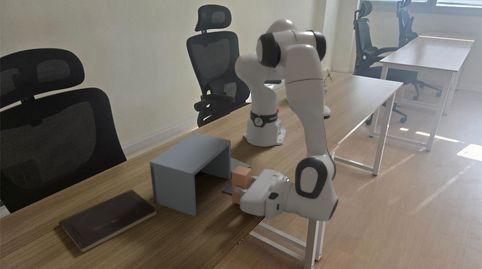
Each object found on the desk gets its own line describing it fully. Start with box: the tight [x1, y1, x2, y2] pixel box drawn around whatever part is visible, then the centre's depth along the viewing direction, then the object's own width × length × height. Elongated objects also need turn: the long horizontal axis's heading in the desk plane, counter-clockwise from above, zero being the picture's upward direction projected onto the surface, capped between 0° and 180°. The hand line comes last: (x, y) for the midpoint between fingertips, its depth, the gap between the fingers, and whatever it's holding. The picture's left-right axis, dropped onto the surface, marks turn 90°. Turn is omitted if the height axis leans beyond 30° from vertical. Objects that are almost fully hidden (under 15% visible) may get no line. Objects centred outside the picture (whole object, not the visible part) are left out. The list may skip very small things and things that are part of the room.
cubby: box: [149, 131, 232, 217], centre depth 110 cm, size 24×15×15 cm, turn 154°
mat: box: [221, 180, 253, 196], centre depth 115 cm, size 12×12×1 cm
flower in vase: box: [324, 68, 334, 117], centre depth 175 cm, size 13×11×25 cm
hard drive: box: [231, 156, 252, 175], centre depth 128 cm, size 2×8×12 cm
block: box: [231, 166, 253, 205], centre depth 103 cm, size 4×4×11 cm
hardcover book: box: [58, 188, 158, 253], centre depth 98 cm, size 16×23×2 cm
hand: (239, 183), depth 103 cm, fingers closed on block, 4 cm apart
